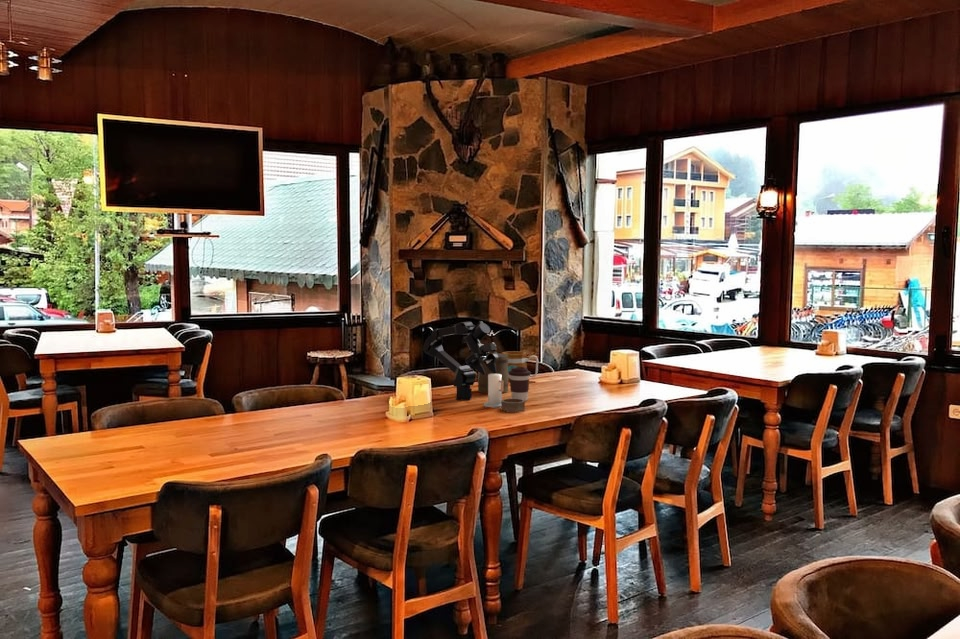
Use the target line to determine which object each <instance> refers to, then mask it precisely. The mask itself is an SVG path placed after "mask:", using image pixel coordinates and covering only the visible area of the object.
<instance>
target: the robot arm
mask: <svg viewBox="0 0 960 639" xmlns="http://www.w3.org/2000/svg"><path fill="white" fill-rule="evenodd" d="M490 332H491V328H490V326H489V325H488V324H486V323H484V322H483V321H482V320H481V321H480V320H479V321H478V322H477V323H476V324H473V322H472V321H463V322H458V323H455V324H454V325H453V326H452V325H451V326H447V327H442V328H435V329H433V330H432V331H431V334H430V335H428V337H427V338H426V339H425V341H424V343H423V346H422V351H423V352H424V353H425V354H427V355H429V356H431V357H433V358H436V359H438V360H439V361H440V362H441V363H442V364H443V365H444V366H445V367H446V368H448V369H449V370H450V371H451V372H453V374H454V378H455V379H454V380H453V381H452V384H453V387H456V397H455V400H457V401H471V399H472V396H473V394H472V393H473V391H472V390H473V389H472V388H471V386H474V383H475V380H476V373H475V371H474V369H475V370H476V371H477V372H480V373H481V374H482V375H485V374H486V373H485V371H484V368H483V366H482V364H481V361H484V363H485V364H486V367H487V368H488V369H489V370H490V371H491V372H492V373H493V374H497V370H496V360H497V359H498V355H497V354H495V353H490V354H489V352H490V351H495V350H496V348H498V346H497V344H496V343H495V342H489V343H485V344H483V343H482V342H481V341H482V340H483V339H484V338H485V337H486V336H488V335H489V333H490ZM451 335H458V336H459V335H460V336H461V335H466V336H463V337H462V340H461V343H462V344H465V343H466V345H467V346H468V348H469V350H468V353H471V354H470V355H468V356H467V357H466V358H465V363H466V365H461V364H460V363H459V362H458V361H457V360H456V359H454V358H453V357H452V356H451V355H449V354H448V353H447V352H446V351H445V350H444V347H443V343H444V337H446V336H451ZM496 351H497V350H496ZM488 354H489V355H488ZM487 355H488V356H487Z"/></svg>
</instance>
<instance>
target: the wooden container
mask: <svg viewBox="0 0 960 639" xmlns="http://www.w3.org/2000/svg"><path fill="white" fill-rule="evenodd" d="M497 348H498V347H497ZM497 348H496V350H495V351H490V352H489V354H490V353H495V354H497V355H498V359H497V360H496V370H497V374H502V380H503V381H504V386H503V392H502V394H505V393H509V382H508V355H507V354H502V352H501V353H499V352H497V351H498V349H497ZM489 354H488V355H489ZM488 355H487V356H488ZM481 364H482V366H483V368H484V371H485V373H486V374H485V375H482V374H481V373H480V372H478V371H477V372H478V373H477V375H478V376H477V386H478V387H477V390H478V392H479V393H481V392H482V393H481V394H486V393H488V374H493V373H492V372H491V371H490V370H489V369H488V368H487V367H486V364H485V363H484V361H481Z"/></svg>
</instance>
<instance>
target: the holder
mask: <svg viewBox="0 0 960 639" xmlns="http://www.w3.org/2000/svg"><path fill="white" fill-rule="evenodd" d="M525 403H526V402H525V400H523V399H512V397H510V398H505V399H504V398H503V399H502V401H501V408H500V409H501V410H503V411H502V412H505V411H508V412H507V413H520V412H519V411H522V412H525V411H526V410H525V409H526V404H525Z"/></svg>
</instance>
